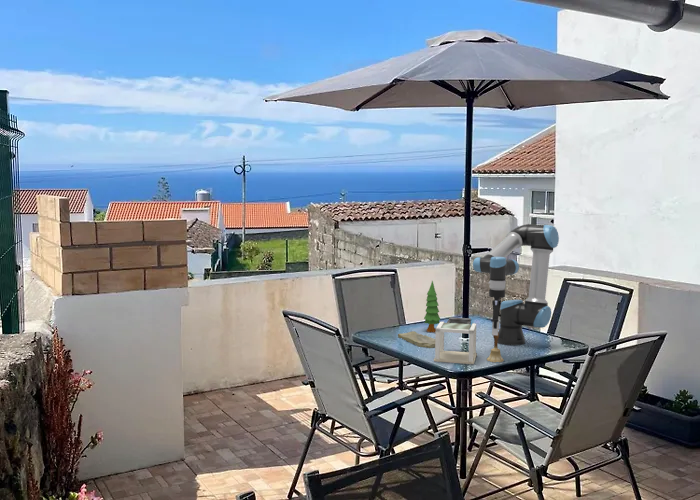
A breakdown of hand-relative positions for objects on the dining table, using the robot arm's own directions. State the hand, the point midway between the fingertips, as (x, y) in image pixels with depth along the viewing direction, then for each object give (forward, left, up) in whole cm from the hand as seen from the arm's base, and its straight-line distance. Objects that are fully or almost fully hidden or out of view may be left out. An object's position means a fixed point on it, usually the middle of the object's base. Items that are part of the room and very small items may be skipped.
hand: (495, 332), depth 332 cm
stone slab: (+42, -30, -14) cm, 53 cm away
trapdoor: (+19, -5, +1) cm, 20 cm away
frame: (+19, +1, -14) cm, 23 cm away
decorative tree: (+39, -58, -14) cm, 71 cm away
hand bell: (0, 0, -14) cm, 14 cm away
